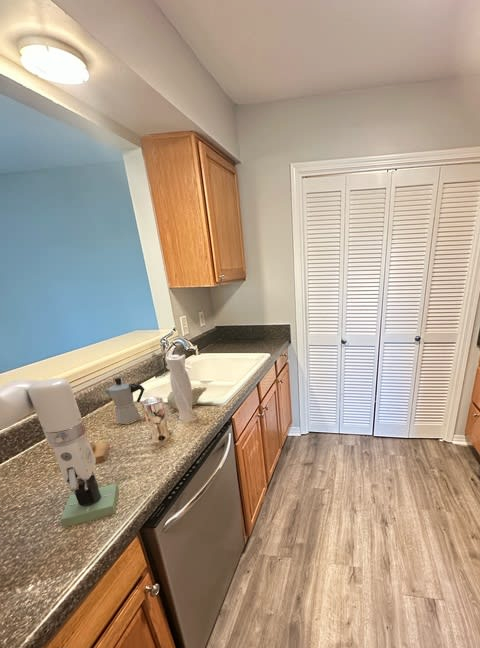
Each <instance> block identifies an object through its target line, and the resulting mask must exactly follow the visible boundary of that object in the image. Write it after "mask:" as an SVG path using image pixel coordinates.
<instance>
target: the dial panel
mask: <svg viewBox="0 0 480 648" xmlns="http://www.w3.org/2000/svg"><path fill="white" fill-rule="evenodd" d="M98 488H99V491H100V494H101V499H100V500H99V501H98V502H96V503H95V504H92V505H89V506H81V505H79V503H78V500H77V498H76V495H75V493H72V494H69V496H68V499H67V502H66V504H65V507H64V509H63V512H62V515H61V517H60V523H61V525H62V527H63V528H64V529H66V528H69V527H72V526H76V525H80V524H83V523H87V522H90V521H94V520H98V519H101V518H105V517H109V516H112V515H116V512H117V507H118V499H119V494H120V493H119V492H120V489H119V486H118V483H111V484H109V485H104V486H101V487H98Z"/></svg>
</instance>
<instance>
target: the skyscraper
mask: <svg viewBox="0 0 480 648" xmlns="http://www.w3.org/2000/svg"><path fill="white" fill-rule="evenodd" d="M169 353H170V357H168V355H169ZM165 362H166V365H167V367H168V369H169V378H170V387H171V392H173V396H174V399H175V402H176V405H177V408H178V409H177V411H178V413H179V414H178V420H179V419H181V420H182V421H183V422H184V423H185V422H188V421H191V420H194V419H197V417H196V415H195V413H194V412H193V406H192V389H193V388H192V384H191V379H190V376H189V373H188V371H187V370H186V354H185V353H184V354H182V355H180V354H173V351H172V349H169V350H168V351H167V352H166V354H165ZM182 421H181V422H182ZM194 421H195V420H194ZM183 422H182V423H183ZM191 422H192V421H191ZM184 423H183V424H184ZM188 423H189V422H188ZM185 424H186V423H185Z"/></svg>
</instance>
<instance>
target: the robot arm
mask: <svg viewBox="0 0 480 648" xmlns="http://www.w3.org/2000/svg"><path fill="white" fill-rule="evenodd" d="M34 412H35V414H36V416H37V419H38V421H39V423H40V426H41V429H42V431H43V434H44V436H45V439H46V441H47V444H48V445H49V446H52V447H53V450H54V455H55V458H56V461H57V464H58V467H59V470H60V473H61V475H62V478H63V480H64V482H65V483H66V484H69V489H70V491H71V492H73V494H75V495H76V498H77V500H78V503H79V505H84V504H88V503H92V502H94V497H93V494H92V491H91V488H90V487H89V488H88V484H87V480H86V479H89V478H90V477H91V476H93V477H95V479H96V482H97V485H98V486H99V484H98V481H97V478H96V476H95V474H94V469H95V466H96V464H97V463H96V458H95V455H94V453H93V450H92V448H91V445H90V443H91V442H90V440H89V438H88V436H87V433H88V432H87V430H86V426H85V424H84V420H83V418H82V415H81V412H80V409H79V406H78V402H77V400H76V397H75V394H74V391H73V389H72V386H71V383H70V382H69V381H68V380H67V379H65V378H61V377H60V378H57V377H55V378H48V379H44V380H32V379H16V380H11V381H9V382H6V383H5V384H2V385H0V430H4V429H7V428H9V427H12V426H13V425H15V424H16V423H18V422H19V421H21V420H22V419H24V418H25V417H26V416H28V415H30V414H33V413H34ZM80 481H82V482H83V485H82V484H80V485H79V484H78V482H80Z"/></svg>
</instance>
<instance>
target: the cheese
mask: <svg viewBox="0 0 480 648" xmlns="http://www.w3.org/2000/svg"><path fill="white" fill-rule="evenodd" d="M191 388H192V407H194V406H196V405H197V403H198V401H199V399H200V397H201V396H202V395H203V393H205V392H206V391H207V389H208V388H207V387H205V386H203V387H201V386H198V387H194V386H191ZM167 403H168V406H170V407H172V408H174V409H175V410H178V408H177V405H176V402H175V399H174V396H173V392H172V391H170V392H169V394H168V395H167Z"/></svg>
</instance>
